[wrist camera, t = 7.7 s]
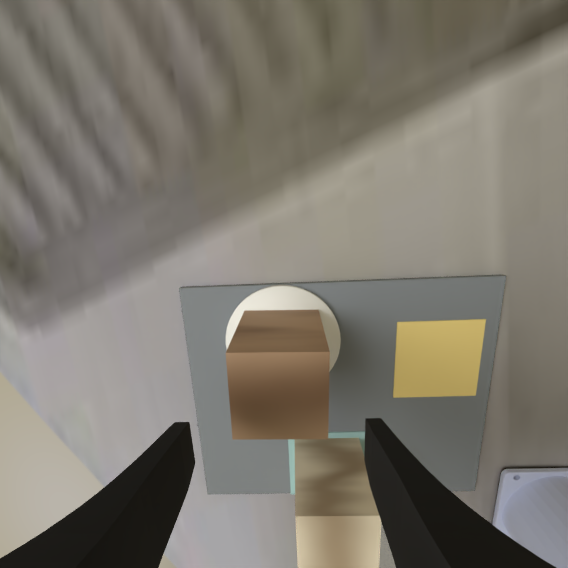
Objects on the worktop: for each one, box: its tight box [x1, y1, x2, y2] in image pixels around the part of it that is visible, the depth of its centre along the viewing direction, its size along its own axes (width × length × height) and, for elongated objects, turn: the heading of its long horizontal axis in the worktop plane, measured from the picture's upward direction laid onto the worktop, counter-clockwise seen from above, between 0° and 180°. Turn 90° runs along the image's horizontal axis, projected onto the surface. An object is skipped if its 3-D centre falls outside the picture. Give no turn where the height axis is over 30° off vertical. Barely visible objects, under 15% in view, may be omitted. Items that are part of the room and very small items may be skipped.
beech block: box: [294, 438, 381, 568], centre depth 21 cm, size 5×5×6 cm
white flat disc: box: [226, 285, 341, 372], centre depth 21 cm, size 8×8×1 cm
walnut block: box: [226, 310, 330, 440], centre depth 18 cm, size 5×5×6 cm
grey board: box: [179, 275, 506, 494], centre depth 22 cm, size 22×18×1 cm
